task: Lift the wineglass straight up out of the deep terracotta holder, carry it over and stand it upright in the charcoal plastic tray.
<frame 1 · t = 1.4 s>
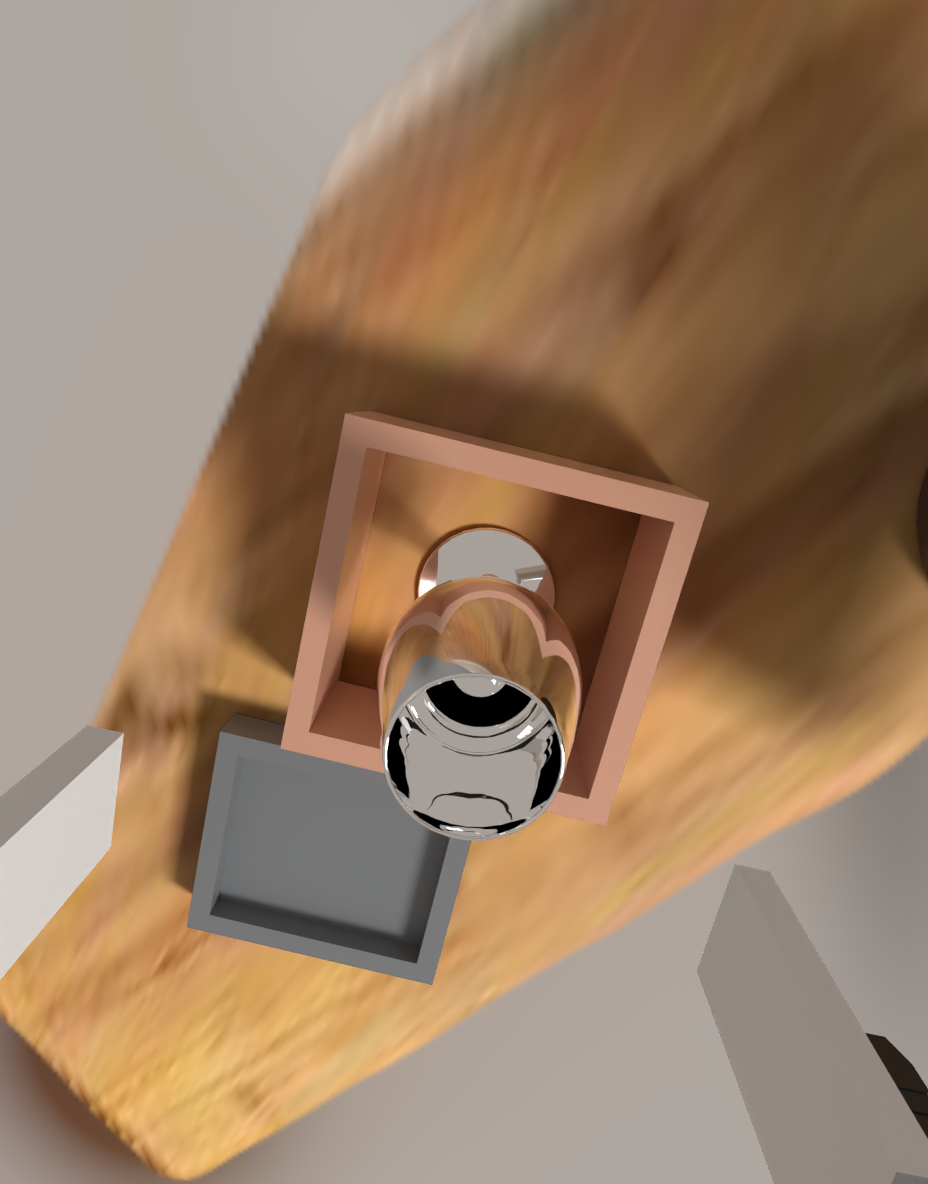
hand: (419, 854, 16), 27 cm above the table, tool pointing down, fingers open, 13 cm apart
holder: (486, 594, 42), on the table
tray: (339, 838, 46), on the table
wineglass: (486, 593, 42), resting in holder
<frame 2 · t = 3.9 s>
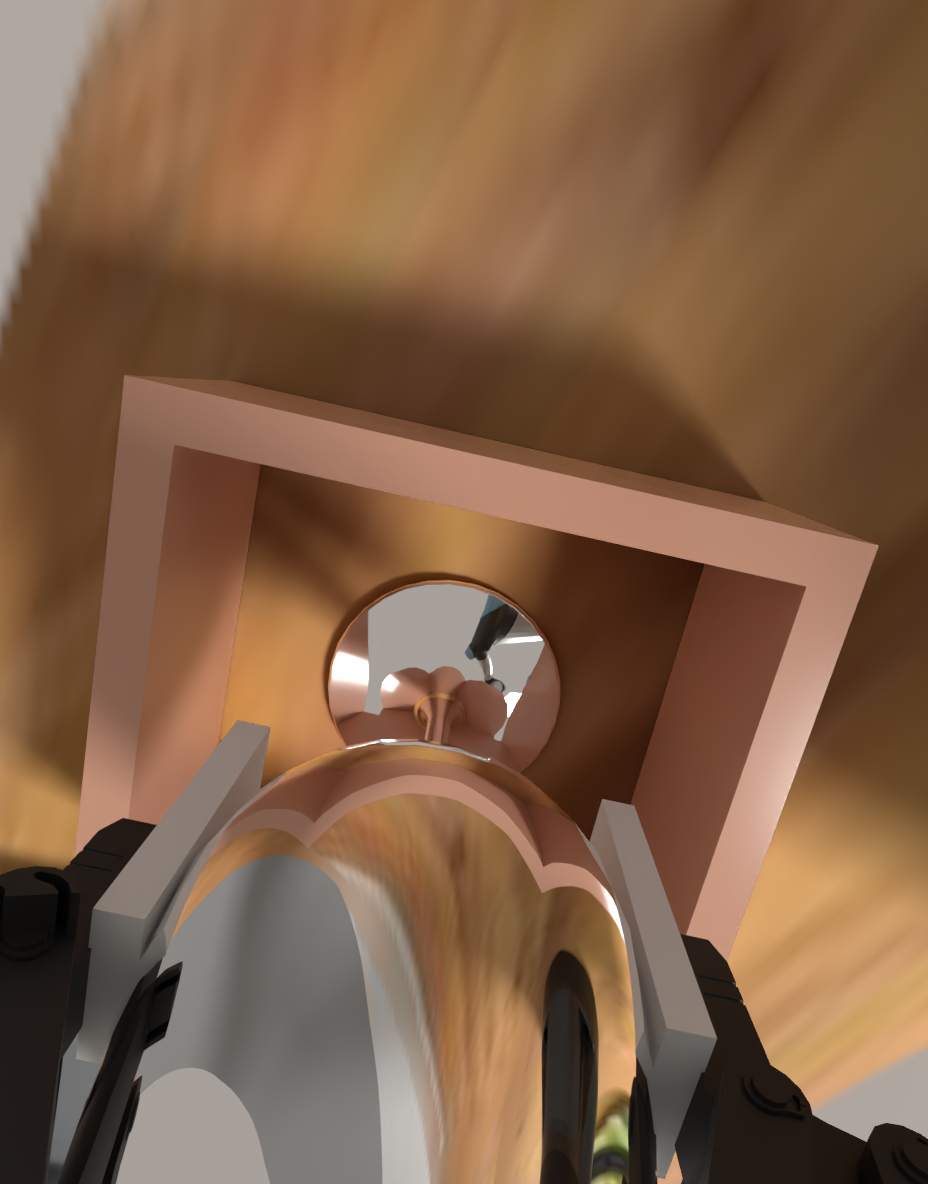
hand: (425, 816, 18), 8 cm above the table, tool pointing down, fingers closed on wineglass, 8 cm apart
holder: (443, 690, 25), on the table
tray: (222, 1069, 29), on the table
wineglass: (444, 688, 25), resting in holder, touching gripper
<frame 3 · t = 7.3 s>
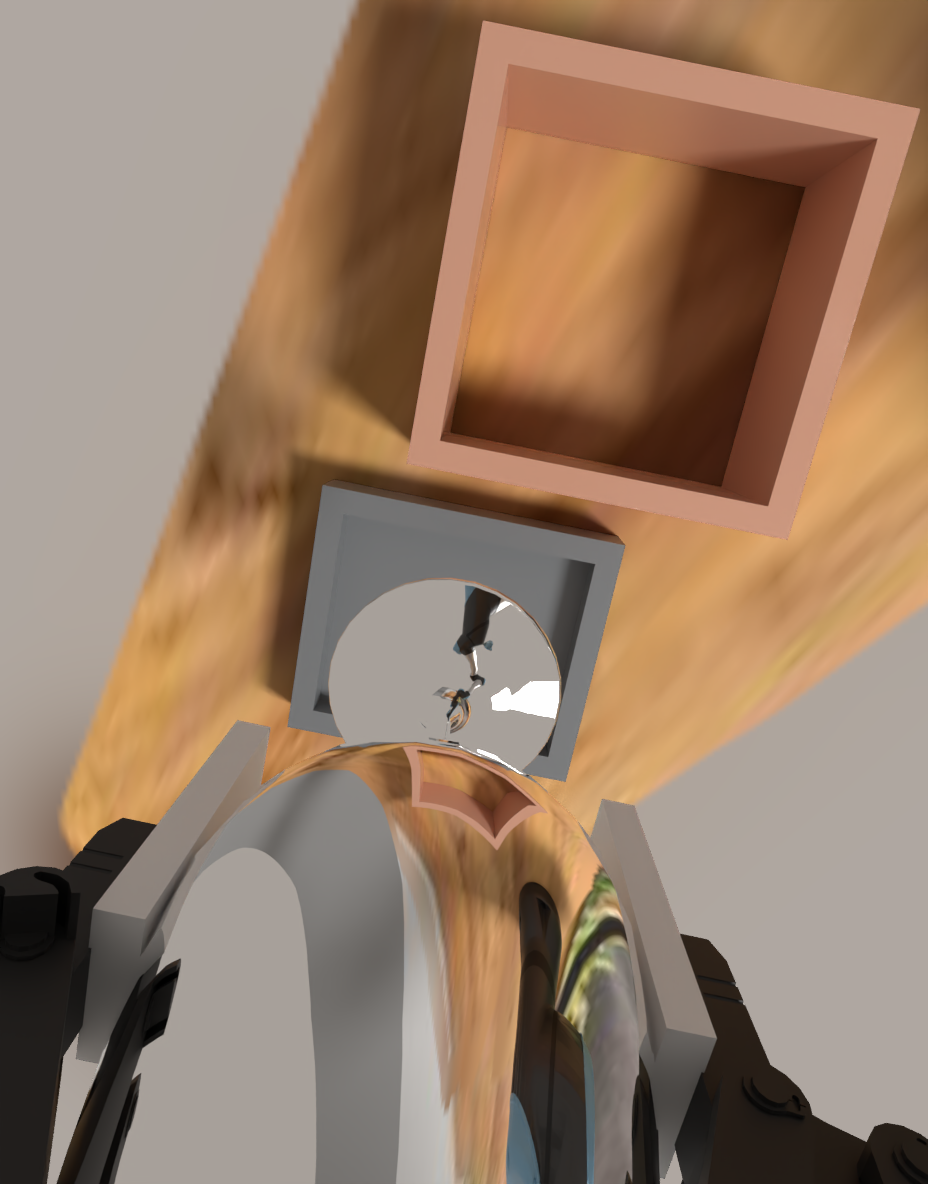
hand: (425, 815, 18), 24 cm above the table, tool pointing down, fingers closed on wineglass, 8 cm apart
holder: (619, 315, 37), on the table
tray: (452, 625, 41), on the table
wineglass: (445, 686, 25), point 16 cm above the table, touching gripper
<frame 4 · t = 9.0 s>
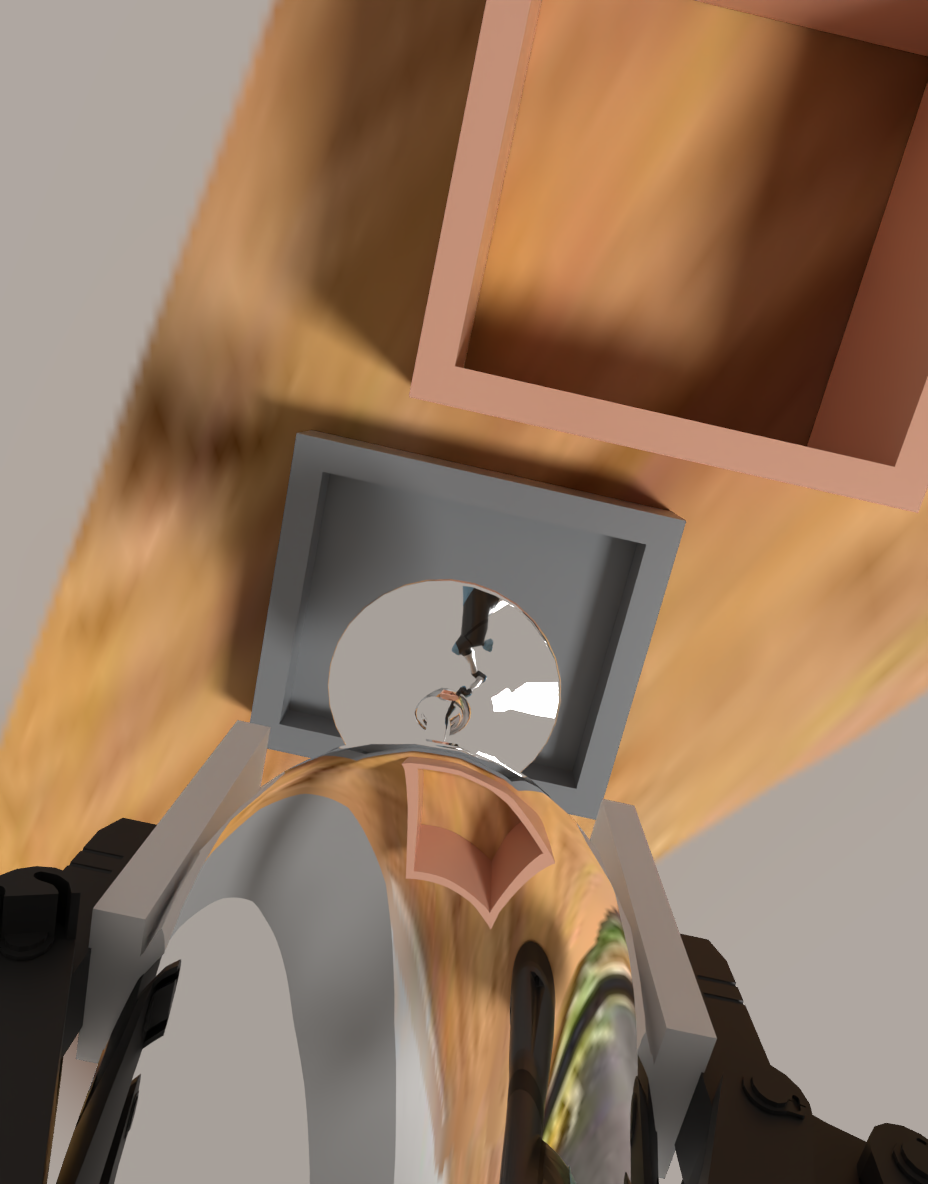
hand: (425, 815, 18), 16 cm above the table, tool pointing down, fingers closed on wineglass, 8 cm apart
holder: (685, 224, 29), on the table
tray: (458, 619, 33), on the table
wineglass: (444, 687, 25), point 8 cm above the table, touching gripper
when the fingers open (10 cm above the table, at t = 10.5 s): wineglass drops 1 cm, resting on tray.
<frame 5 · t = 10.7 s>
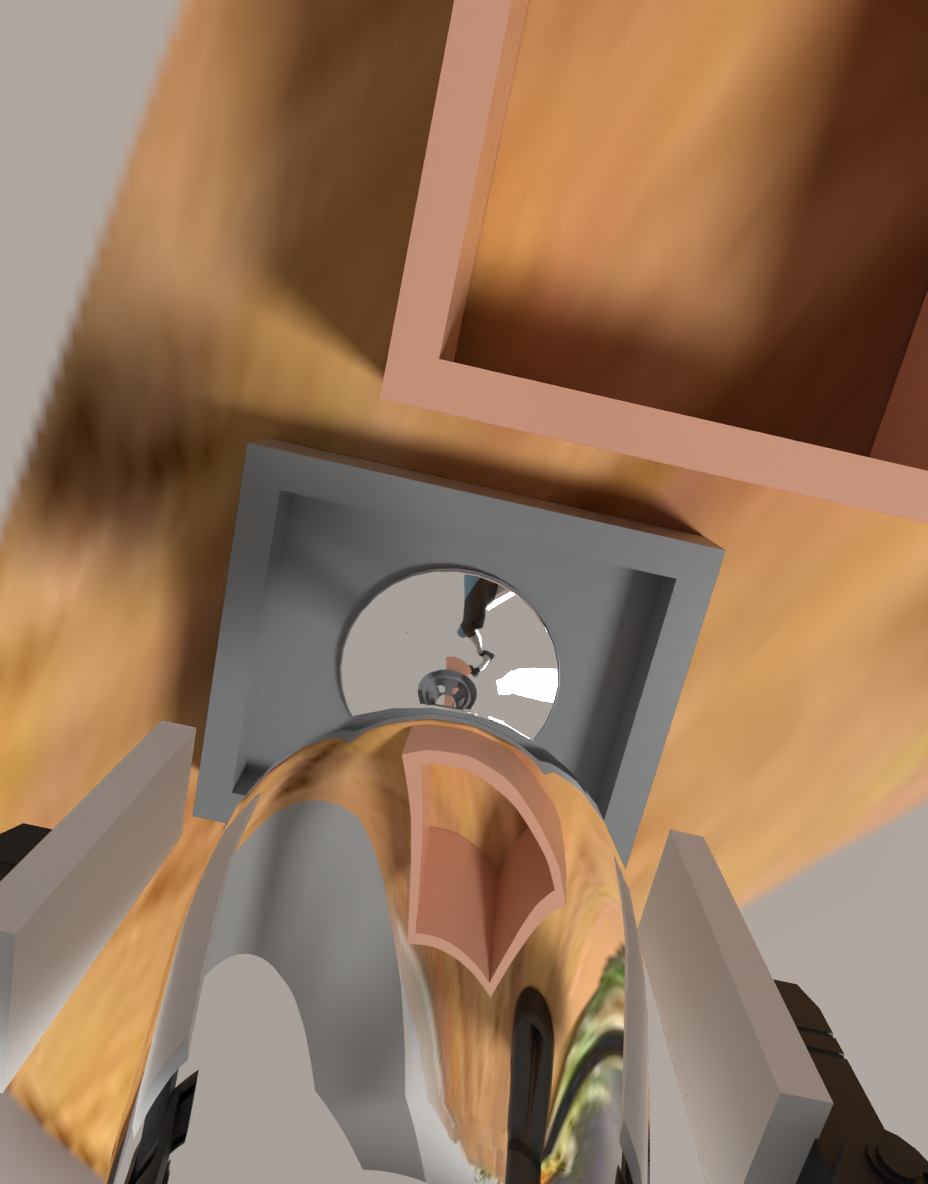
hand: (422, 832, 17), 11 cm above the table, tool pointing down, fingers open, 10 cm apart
holder: (725, 186, 23), on the table
tray: (447, 664, 27), on the table
wineglass: (450, 671, 27), point 1 cm above the table, touching tray
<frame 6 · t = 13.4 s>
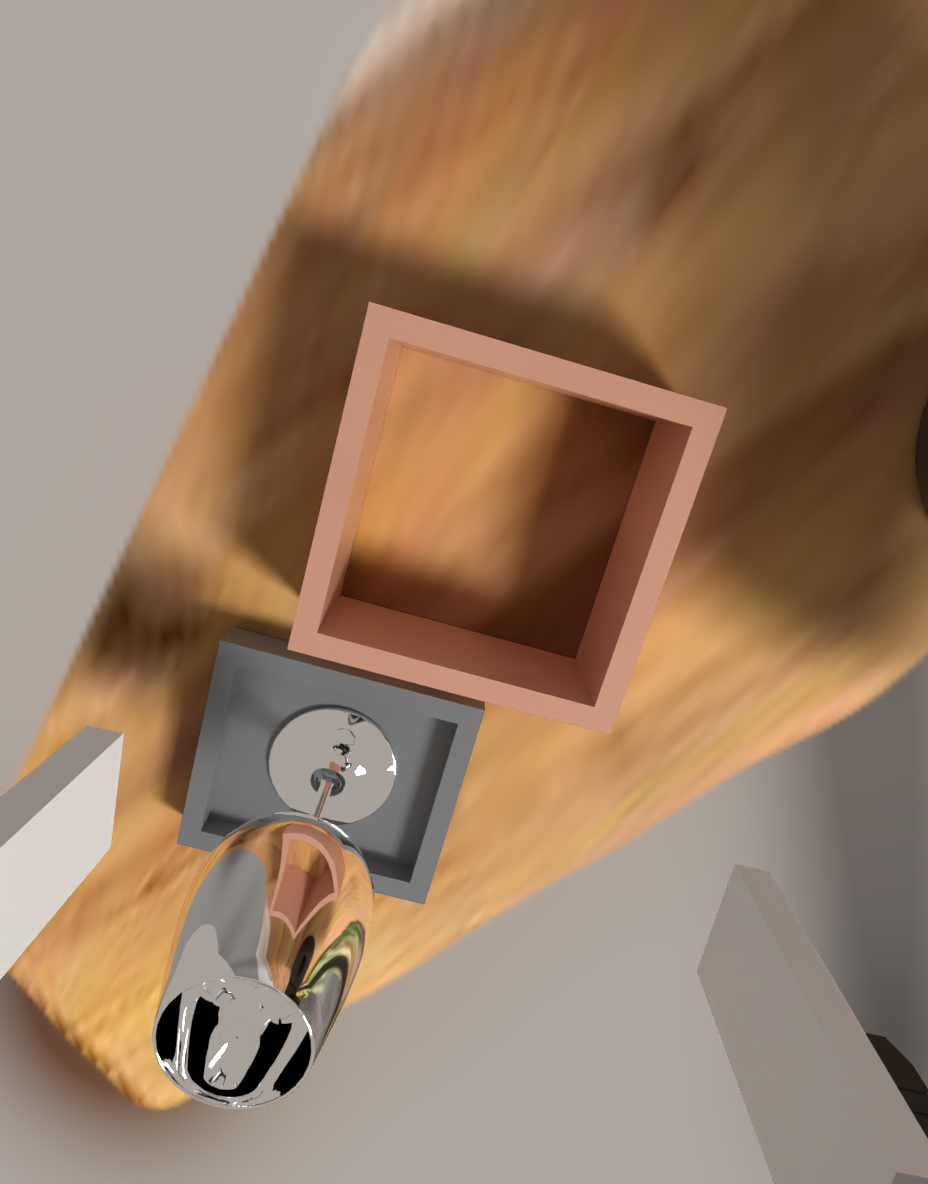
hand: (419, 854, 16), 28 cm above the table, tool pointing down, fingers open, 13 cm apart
holder: (493, 510, 42), on the table
tray: (334, 758, 46), on the table
wineglass: (334, 764, 45), point 1 cm above the table, touching tray
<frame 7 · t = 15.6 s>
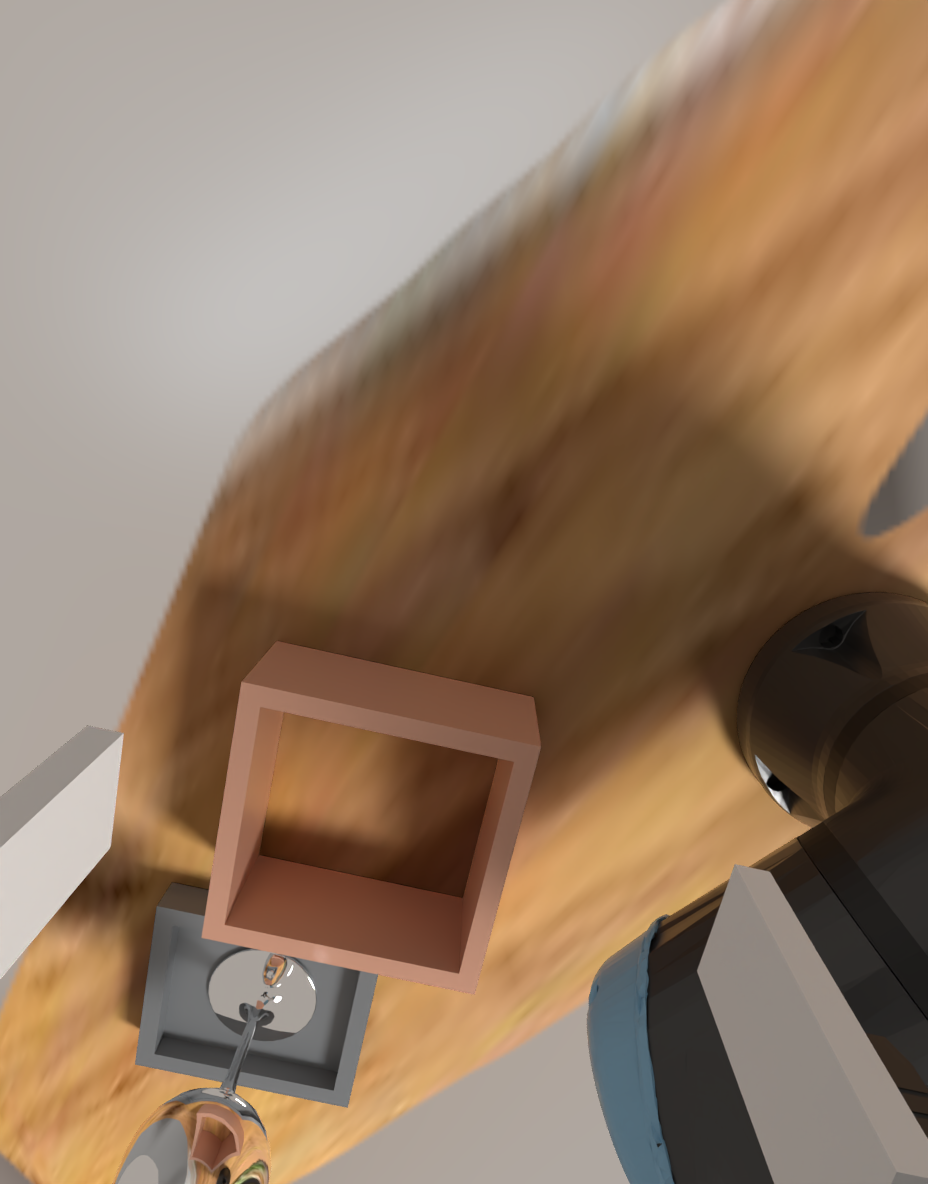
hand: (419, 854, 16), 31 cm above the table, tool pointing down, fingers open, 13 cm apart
holder: (380, 784, 50), on the table
tray: (265, 982, 54), on the table
wineglass: (264, 991, 53), point 1 cm above the table, touching tray
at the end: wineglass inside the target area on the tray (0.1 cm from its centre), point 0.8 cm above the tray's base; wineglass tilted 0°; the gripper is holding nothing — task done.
